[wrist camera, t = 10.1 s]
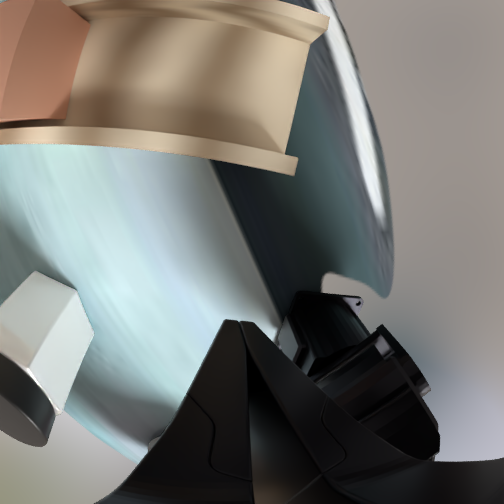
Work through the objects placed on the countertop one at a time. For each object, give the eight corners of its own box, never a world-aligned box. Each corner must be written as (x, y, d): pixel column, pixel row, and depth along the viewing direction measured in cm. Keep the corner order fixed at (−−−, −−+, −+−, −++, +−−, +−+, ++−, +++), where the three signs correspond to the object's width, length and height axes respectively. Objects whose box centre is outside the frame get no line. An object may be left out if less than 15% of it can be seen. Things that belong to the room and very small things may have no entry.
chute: (307, 36, 14) (329, 17, 11) (277, 167, 18) (293, 176, 14) (22, 28, 10) (-4, 18, 6) (-4, 141, 13) (-35, 147, 10)
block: (90, 24, 11) (42, -13, 4) (65, 119, 13) (-1, 118, 7) (20, 38, 9) (-35, 21, 3) (-1, 123, 12) (-63, 130, 6)
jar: (45, 252, 18) (-42, 345, 7) (110, 322, 21) (67, 441, 10) (9, 303, 19) (-51, 384, 8) (64, 358, 22) (26, 451, 11)
